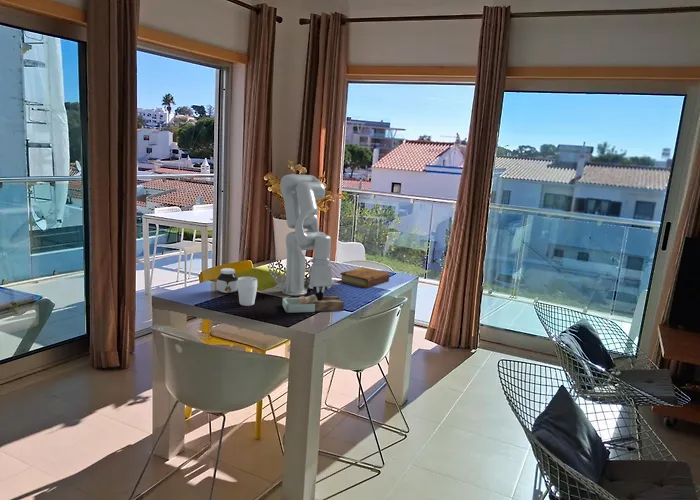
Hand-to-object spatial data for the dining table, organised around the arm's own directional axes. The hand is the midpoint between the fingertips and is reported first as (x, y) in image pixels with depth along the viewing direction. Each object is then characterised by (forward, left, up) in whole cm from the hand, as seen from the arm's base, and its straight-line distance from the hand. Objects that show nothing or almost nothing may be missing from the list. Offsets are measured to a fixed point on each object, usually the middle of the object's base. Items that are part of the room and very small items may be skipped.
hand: (319, 300), depth 250 cm
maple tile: (-4, 0, -1) cm, 4 cm away
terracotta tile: (-6, 0, -1) cm, 6 cm away
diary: (+39, +48, -5) cm, 62 cm away
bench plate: (+4, 0, -4) cm, 5 cm away
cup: (-32, +9, -4) cm, 34 cm away
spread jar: (-38, +30, -4) cm, 49 cm away
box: (-10, 0, -4) cm, 10 cm away
